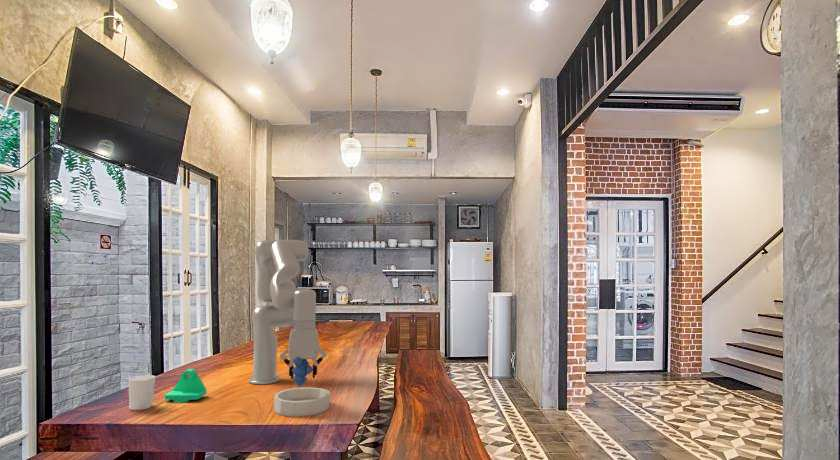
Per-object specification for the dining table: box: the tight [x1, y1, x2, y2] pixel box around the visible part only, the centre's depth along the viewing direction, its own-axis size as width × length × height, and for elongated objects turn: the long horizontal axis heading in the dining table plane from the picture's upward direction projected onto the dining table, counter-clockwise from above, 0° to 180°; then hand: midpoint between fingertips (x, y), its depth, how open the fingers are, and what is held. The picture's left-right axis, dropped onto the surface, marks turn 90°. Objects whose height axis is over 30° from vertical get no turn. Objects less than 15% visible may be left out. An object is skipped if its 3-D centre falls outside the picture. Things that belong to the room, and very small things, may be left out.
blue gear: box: [292, 357, 313, 388], centre depth 165 cm, size 12×7×12 cm, turn 176°
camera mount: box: [164, 368, 208, 403], centre depth 174 cm, size 12×8×10 cm, turn 91°
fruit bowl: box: [273, 386, 331, 418], centre depth 164 cm, size 18×18×5 cm
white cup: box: [128, 374, 156, 411], centre depth 164 cm, size 8×8×10 cm
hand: (303, 377), depth 165 cm, fingers closed on blue gear, 6 cm apart
